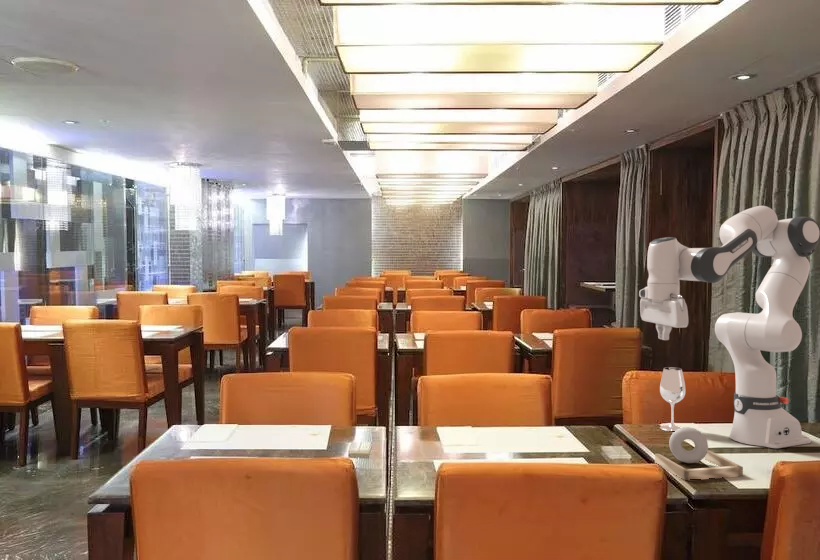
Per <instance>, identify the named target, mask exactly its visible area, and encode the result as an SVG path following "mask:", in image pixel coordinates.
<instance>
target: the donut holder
mask: <svg viewBox="0 0 820 560" xmlns="http://www.w3.org/2000/svg"><path fill="white" fill-rule="evenodd" d="M704 459H706V461H707V460H708V462H709V461H710V462H709V463H711V462H712V464H713V463H714V464H713V465H715V464H716V465H715V467H701V468H700V467H698V468H686V467H683V466H681V465H679V464H678V463H676V462H674V461H673V460H671V459H669V458H668V457H666V456H664V455H662V454H660V453H654V464H656V463H657V464H656V465H658V464H659V465H661V466H662V467H661V466H660V467H661V468H662V469H665V470H667V471H668V472H669V473H670V474H672V475H674V476H676V475H677V476H676V477H678V478H679V477H680V478H679V479H681V478H682V479H681V480H683V479H684V480H688V481H691V480H690V479H701V480H710V479H709V478H715V479H723V478H722V477H728V478H738V476H742V477H744V471H743V469H744V467H743V466H742V465H740V464H738V463H736V462H733V461H732V460H730V459H729V458H725V457H724V456H722V455H720V454H717V453H716V452H714V451H712V450H709V449H708V451H707V454H706V455H705V457H704ZM659 465H658V466H659ZM717 465H718V466H717ZM719 466H720V467H719ZM684 480H683V481H684Z"/></svg>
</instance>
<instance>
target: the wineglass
mask: <svg viewBox="0 0 820 560" xmlns="http://www.w3.org/2000/svg"><path fill="white" fill-rule="evenodd" d="M659 383H660V384H659V393H660V396H661V397H662V399H663V400H664V401H666V402H667V403H669V404H670V409H671V410H670V411H671V412H670V414H671V416H670V417H671V418H670V419H671V420H670V424H664V425H661V426H659V428H660V429H661V430H662V431H665V432H669V431H676V430H677V429H680V427H681V426H680V427H678V426H679V425H676V423H675V421H674V420H675V419H674V418H675V417H674V416H675V414H674V410H675V404H677V403H679V402H681V401H682V400H683V399H684V398H685V396H686V382H685V376H684V373H683V369H682V368H680V367H672V366H671V367H669V366H668V367H663V370H662V373H661V379H660V382H659Z"/></svg>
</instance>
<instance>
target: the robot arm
mask: <svg viewBox="0 0 820 560" xmlns="http://www.w3.org/2000/svg"><path fill="white" fill-rule="evenodd" d="M718 232H719V233H718V235H719V240H720V242H721V244H722V245H720V246H719V247H718V246H717V247H716V246H713V247H692V248H691V247H688V246H686V245H683V244H681V243H680V242H679V241H678V240H677V238H676V237H673V236H666V237H660V238H655V239H653V240H651V241H650V242H649V244H648V245H649V246H648V250H647V255H646V257H647V261H646V262H647V264H646V268H647V272H648V278H647V281H646V283H647V286H645V287H644V288H642V289H640V290H639V292H638V297H640V301H639V308H640V309H639V312H640V318H641V321H644V322H648V323H653V324H655V329H656V331H657V335H658V336H657V337H658V339H659V340H662V341H669V340H670V333H671V331H672V330H673V328H675V329H676V328H677V329H678V328H680V329H681V328H687V327H688V326H689V311H688V305H687V303H686V300H685V298H684V297H683V295H682V294H681V293H680V291H681V289H680V288H681V285H680V283H681V282H680V281H689V282H690V281H691V282H692V281H693V282H703V283H711V284H714V283H718V282H720V281H721V280H723V279H724V277H725V276H726V275H727V274H728V272H729V271H730V270H731V268H732V267H733V266H735V264H737V263H738V262H739V261H741V260H742V259H743V258H745V257H747V255H749V253H751V252H752V254H753V255H755V256H757V257H760V258H771V257H773V262H772V265H771V267H770V268H769V269H768V271H767V273H766V274H765V276H764V277H763V279H762V280H761V283H760V285H759V287H758V288H757V290H756V292H755V295H754V296H755V302H756V303H757V305H758V306H759V307H760V308H761V309H762V310H761V311H760V312H759V313H753V312H752V313H751V312H749V313H748V312H741V311H736V312H728V313H723V314H721V315H720V316H719V317H718V318H717V320H716V322H715V324H714V333H715V336H716V339H717V340H718V341H719V342H720V343H722V345H723V346H724V347H725V348H726V351H728V353H729V355H730V357H731V359H732V363H733V366H734V374H735V375H734V376H735V378H734V379H735V380H734V381H735V392H734V393H733V406H734V407H733V408H734V413H733V414H734V415H733V421H732V426H731V430H730V433H729V438H730V439H731V440H733V441H736V442H738V443H742V444H746V445H752V446H758V447H759V446H760V447H766V448H771V449H782V448H788V447H795V446H800V445H801V446H802V445H807V444H811V438H810V437H808V436H806V435H804V434H803V432H802V426H801V423H800V421H799V419H797V418H796V417H795V416H793V415H792V414H790V413H789V412H788V411H787V410H785V409H784V408H783V407H782V404H784V405H788V403H789V402H790V400H789V398H788V397H785V396H779V395H778V394H777V372H776V369H775V368H774V366H773V365H772V364H770V363H769V362H768V361H766V359H765V358H764V356H763V355H762V352H761V351H763V352H771V353H786V352H787V353H788V352H793V351H794V350H796V349H797V348H798V346H799V345H800V343H801V342H802V338H803V332H802V328H801V326H800V324H799V323H798V322H797V320H795V318H794V317H793V313H794V312H793V311H794V307H795V306H796V303H797V301H798V299H799V297H800V295H801V294H802V292H803V290H804V288H805V285H806V283H807V280H808V278H809V275H810V271H811V264H810V261H809V260H808V258H807V257H810V256H811V255H813V253H814V252H815V249H816V247H818V245H819V241H820V225H819V224H818V222H817V221H816V220H815V219H813V218H812V217H809V216H795V217H793V218H792V217H791V218H785V219H784V218H783V219H780V220H779V219H778V216H777V213H776V212H775V211H774V209H772V208H771V207H769V206H766V205H757V206H753V207H750V208H747V209H744V210H742V211H740V212H738V213H736V214H734V215H733V216H731V217H729V218H727V219H726V220H725V221H723V223H722V224H721V226H720V228H719V231H718Z"/></svg>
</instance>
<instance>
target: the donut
mask: <svg viewBox="0 0 820 560" xmlns="http://www.w3.org/2000/svg"><path fill="white" fill-rule="evenodd" d="M681 427H682V426H681ZM671 433H672V434H671V435H670V437H669V441H668V443H669V444H668V445H669V449H670V451H671V454H672V455H673V456H674V457H675V458H676V459H677V460H679V461H680V462H682V463H686V464H696V463H698V462H700V461H702V460H703V459H705V455H706V454H707V451H708V450H709V443H708V440H707V438H706V436H705V434H703V433H702V432H701V431H699V429H697V428H693V427H690V426H683V427H682V428H680V429H677V430H676V431H675V432H671ZM686 440H689V441H692V442H693V444H694V447H693V449H692V450H686V449H685V448H684V447H683V442H684V441H686Z"/></svg>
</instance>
